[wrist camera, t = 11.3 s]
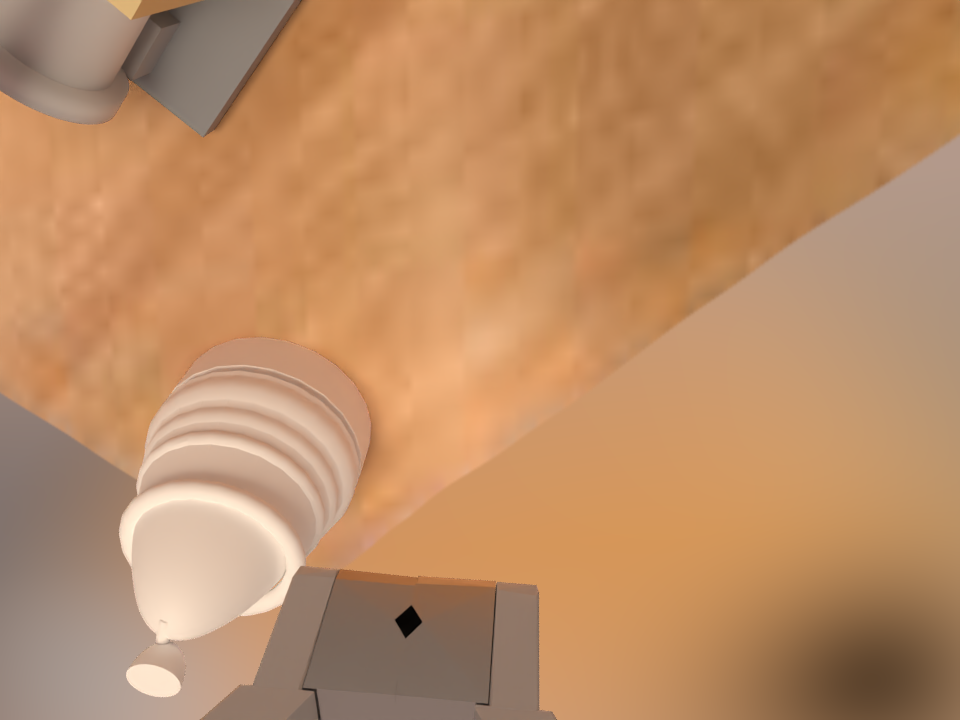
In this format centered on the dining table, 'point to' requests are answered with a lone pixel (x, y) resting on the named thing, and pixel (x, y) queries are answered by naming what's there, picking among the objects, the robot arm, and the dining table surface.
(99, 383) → the dining table surface
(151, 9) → the valve
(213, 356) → the honey pot
